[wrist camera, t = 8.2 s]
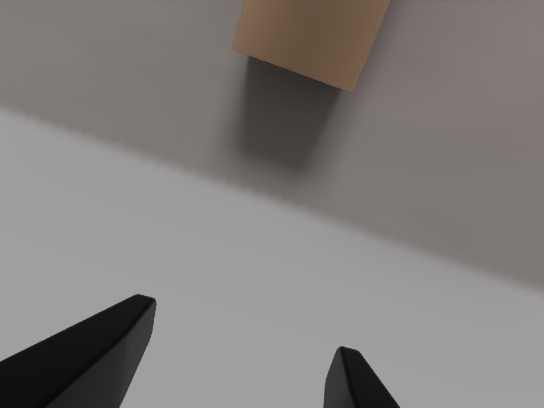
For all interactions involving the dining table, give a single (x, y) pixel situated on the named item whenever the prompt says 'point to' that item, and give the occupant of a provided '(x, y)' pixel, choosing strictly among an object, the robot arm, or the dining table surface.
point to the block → (312, 36)
